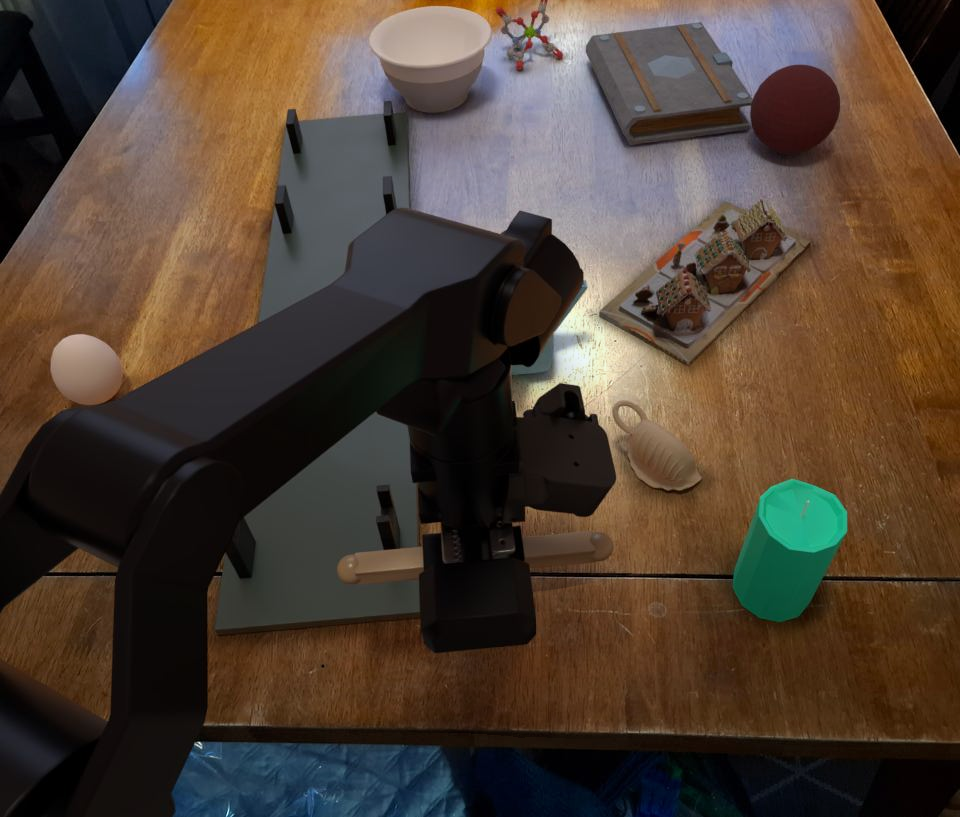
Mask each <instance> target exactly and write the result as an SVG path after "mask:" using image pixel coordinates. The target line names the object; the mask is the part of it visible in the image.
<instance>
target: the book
mask: <svg viewBox="0 0 960 817" xmlns="http://www.w3.org/2000/svg"><path fill="white" fill-rule="evenodd" d="M585 54H586V56H587V58H588V60H589V63H590V65H591V67H592V69H593V71H594V73H595V76H596V78H597V80H598V82H599V84H600V86H601V88H602V91H603V93H604V95H605V97H606V100H607V102H608V104H609V106H610V107H611V110H612V112H613V114H614V116H615V119H616V122H617V123H618V126H619V128H620V130H621V132H622V134H623V136H624V138H625V140H626V142H627V143H628V144H629V146H632V145H633V146H634V145H642V144H649V143H655V142H656V143H657V142H664V141H672V140H678V139H685V138H686V139H687V138H694V137H701V136H709V135H717V134H725V133H731V132H741V131H748V130H750V128H751V124H750V123H749V121H748V120H747V118H746V117H745V115H744V114H743V113H744V112H742V110H741V109H740V108H743V107H751V104H752V101H753V97H752V96H751V94H750V93H749V91H748V89H747V88H746V87H745V86H744V83H743V82H742V80H741V79H740V78H739V76H738V75H737V73H736V72H735V70H734V69H733V64H734V63H733V60H732V59H731V57H730V56H729V54H728V53H727V52H724V51H723V52H722V51H721V49H720V48H719V46H718V45H717V43H716V42H715V40H714V39H713V38H712V36H711V35H710V33H709V32H708V30H707V28H706V26H704V24H703V22H699V21H698V22H690V23H683V24H675V25H667V26H658V27H651V28H643V29H634V30H626V31H619V32H618V31H617V32H612V33H603V34H602V33H601V34H593V35H592V36H591V37H590V39H588V42H587V43H586V45H585Z"/></svg>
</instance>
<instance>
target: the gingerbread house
mask: <svg viewBox="0 0 960 817" xmlns="http://www.w3.org/2000/svg"><path fill="white" fill-rule="evenodd" d="M759 200H760V201H758V200H757V203H755V204H754V205H751V207H750V208H748V209H746V210H745V209H743V208H741V207H739V206H737V205H735V204H732V203H730V202H728V201H724V202H723V203H722V204H720V205H719V206H718V207H717V208H716V209H715V210H714V211H712V212H711V213H710V214H709V215H708V216H706V218H704V219H703V220H702V221H701V222H700V223H699V224H698V225H697V226H695V227H694V228H693V229H691V231H690V232H688V233H687V234H686V235H684V236H683V237H682V238H681V239H680V240H679V241H678V242H676V244H674V245H673V246H672V247H671V248H669V249H668V250H667V251H666V252H665V253H664V254H663V255H661V256H660V258H658V259H656V261H654V263H653V264H651V265H650V266H649V267H648V268H647V269H645V270H644V272H642V273H641V274H640V275H639V276H637V278H635V279H634V280H633V281H632V282H631V283H630V284H628V286H626V287H625V288H624V289H623V290H622V291H620V292H619V294H616V296H615V297H613V298H612V299H611V300H610V301H609V302H608V303H607V304H606V305H604V306H603V307H602V308H601V309H600V310H599V311H598V317H600V318H602V319H603V320H606V321H607V322H609V323H610V324H612V325H614V326H616V327H618V328H620V329H621V330H623V331H625V332H627V333H628V334H630V335H632V336H634V337H636V338H637V339H639V340H641V341H643V342H644V343H647V344H648V345H650V346H652V347H654V348H655V349H657V350H659V351H661V352H663V353H665V354H666V355H668V356H670V357H671V358H674V359H675V360H677V361H679V362H681V363H682V364H684V365H686V366H688V367H689V366H691V364H692V363H693V362H694V361H695V360H696V359H697V358H698V357H700V355H701V354H703V352H704V351H706V349H708V347H709V346H710V345H712V343H714V342H715V340H717V339H718V337H719V336H721V335H722V334H723V332H725V331H726V329H728V327H730V326H731V325H732V323H734V322H735V321H736V320H737V319H738V318H739V317H740V316H741V315H742V314H743V313H744V312H745V311H746V310H747V309H748V308H749V307H750V306H751V305H752V304H753V303H754V302H755V301H756V300H757V299H758V298H759V297H760V296H761V295H762V294H763V293H764V292H765V291H766V290H767V289H768V288H769V287H770V286H771V285H772V284H773V283H774V282H775V281H776V280H777V279H778V278H780V277H781V275H782V274H783V273H785V271H786V270H788V268H789V267H790V266H791V265H792V264H794V262H795V261H797V259H799V258H800V257H801V255H803V253H805V251H806V250H807V249H809V248H810V246H811V245H812V243H813V242H812V240H809V239H808V238H806V237H804V236H801V235H799V234H797V233H794V231H791V230H789V229H787V228H785V226H784V225H783V224H782V220H781V219H780V218H779V216H778V215H777V214H776V211H775V210H774V209H773V208H772V207H771V206H770V205H769V204H768V202H767V201H766V199H765V198H764V197H761V198H760V199H759Z"/></svg>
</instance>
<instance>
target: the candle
mask: <svg viewBox="0 0 960 817" xmlns="http://www.w3.org/2000/svg"><path fill="white" fill-rule="evenodd" d="M847 533H848V511H847V509H845V507H844V505H843V504H842V503H841V501H840V500H839V498H838V497H837V495H836V494H835V493H832V492H829V491H827V490H826V489H824V488H822V487H819V486H816V485H814V484H811V483H808V482H804V481H801V480H798V479H795V478H790V479H788V480H784V481H782V482H779V483H776V484H773V485H771V486H770V487H769V488H768V489H767V490H766V491H765V492H764V493H763V494H762V495H760V497H759V500H758V502H757V505H756V508H755V511H754V514H753V516H752V519H751V522H750V525H749V527H748V530H747V533H746V536H745V539H744V542H743V544H742V547H741V550H740V553H739V555H738V558H737V560H736V564H735V566H734V569H733V578H732V590H733V592H734V593H735V596H736V597H737V599H738V601H739V603H740V605H741V606H742V607H743V608H744V609H746V610H748V611H749V612H750V613H751V614H753V615H754V616H755V617H757V618H759V619H762V620H767V621H771V622H776V623H783V622H786V621H789V620H792V619H795V618H799V617H800V616H801V615H802V613H803V612H804V611H805V610H806V609H807V607H808V606H809V604H811V601H812V599H813V597H814V596H815V593H816V592H817V590H818V588H819V586H820V585H821V582H822V581H823V579H824V577H825V574H826V573H827V571H828V569H829V567H830V565H831V564H832V561H833V559H834V557H835V555H836V554H837V552H838V550H839V548H840V546H841V545H842V542H843V540H844V539H845V536H847Z"/></svg>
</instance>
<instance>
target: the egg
mask: <svg viewBox="0 0 960 817" xmlns="http://www.w3.org/2000/svg"><path fill="white" fill-rule="evenodd" d="M50 374H51V378H52V381H53V383H54V384H55V387H56V388H57V390H58V391H59V392H60V393H61V394H62V395H63V396H64V397H65V398H67V399H68V400H69V401H72V402H74V403H77V404H78V405H86V406H95V405H100V404H104V403H107V401H108V402H109V401H110V400H111V399H112V398H113V397H114V396H115V395H116V394H117V393H118V391H119V390H120V388H121V386H122V382H123V378H124V369H123V365H122V363H121V360H120V358H119V356H118V355H117V353H116V352H115V350H114V349H113V348H112V347H111V346H110V345H109V344H107V343H106V342H105V341H103V340H101V339H99V338H98V337H95V336H92V335H90V334H85V333H76V334H71V335H68V336H66V337H63V338H62V339H61V340H60V341H59V342H58V343H57V344H56V346H55V347H54V348H53V350H52V354H51V357H50Z"/></svg>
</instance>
